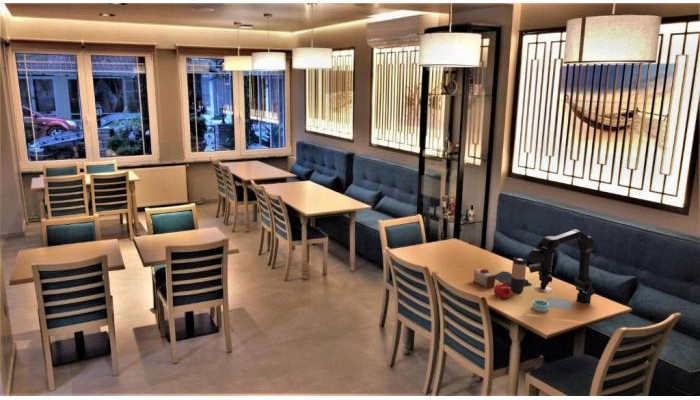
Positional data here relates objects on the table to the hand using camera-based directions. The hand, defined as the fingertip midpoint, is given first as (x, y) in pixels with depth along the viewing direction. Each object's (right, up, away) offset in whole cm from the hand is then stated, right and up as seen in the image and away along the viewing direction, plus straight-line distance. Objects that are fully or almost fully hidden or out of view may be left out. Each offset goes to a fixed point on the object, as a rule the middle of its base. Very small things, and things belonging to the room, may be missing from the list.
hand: (542, 288), depth 276 cm
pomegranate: (-16, -8, +19) cm, 26 cm away
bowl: (-1, -12, +3) cm, 12 cm away
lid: (0, -1, 0) cm, 1 cm away
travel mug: (-5, -6, +27) cm, 29 cm away
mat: (+13, -11, +10) cm, 19 cm away
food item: (-23, -4, +35) cm, 42 cm away
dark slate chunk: (-4, -4, +42) cm, 43 cm away
